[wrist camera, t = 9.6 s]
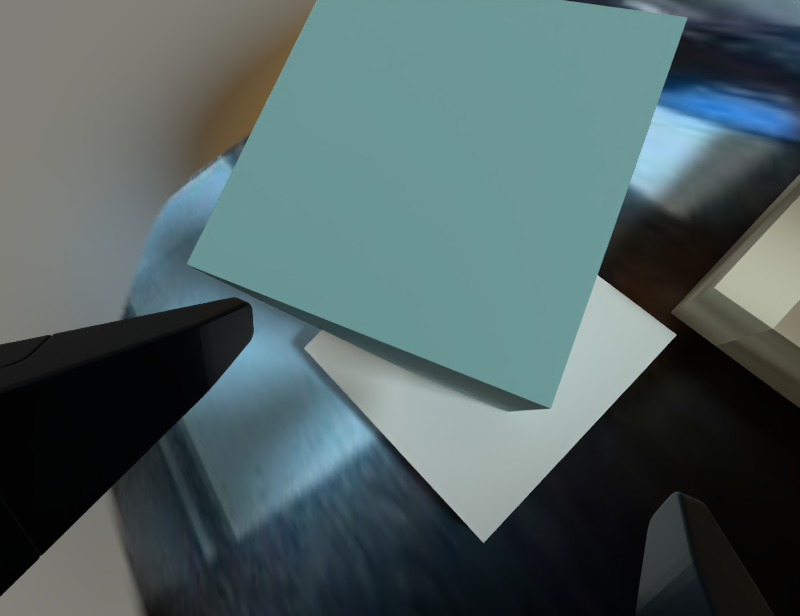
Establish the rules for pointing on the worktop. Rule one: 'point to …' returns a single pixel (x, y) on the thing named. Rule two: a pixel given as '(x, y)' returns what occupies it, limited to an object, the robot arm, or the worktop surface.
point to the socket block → (756, 298)
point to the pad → (498, 410)
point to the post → (445, 181)
